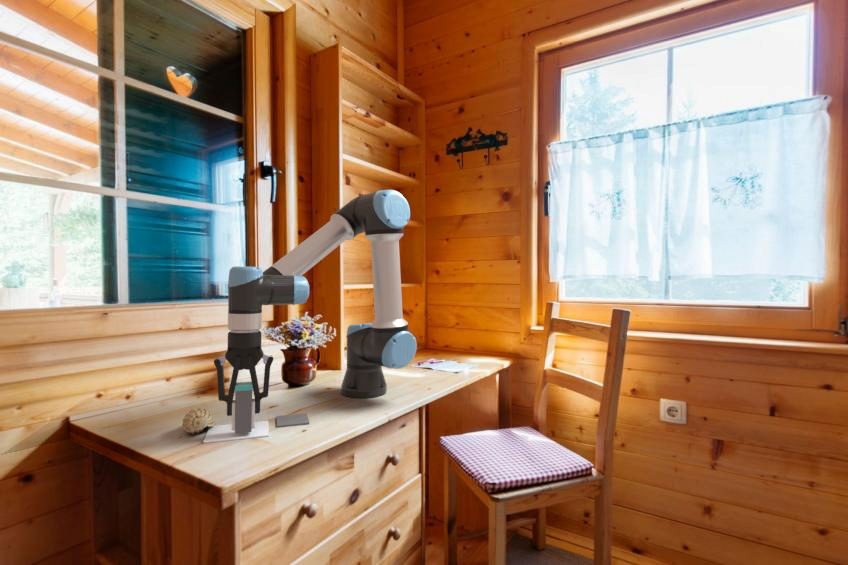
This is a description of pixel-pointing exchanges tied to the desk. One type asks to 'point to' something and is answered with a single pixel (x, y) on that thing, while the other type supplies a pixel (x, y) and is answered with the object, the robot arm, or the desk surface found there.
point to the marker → (243, 407)
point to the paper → (227, 434)
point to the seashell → (197, 421)
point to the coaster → (292, 420)
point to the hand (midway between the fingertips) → (243, 427)
